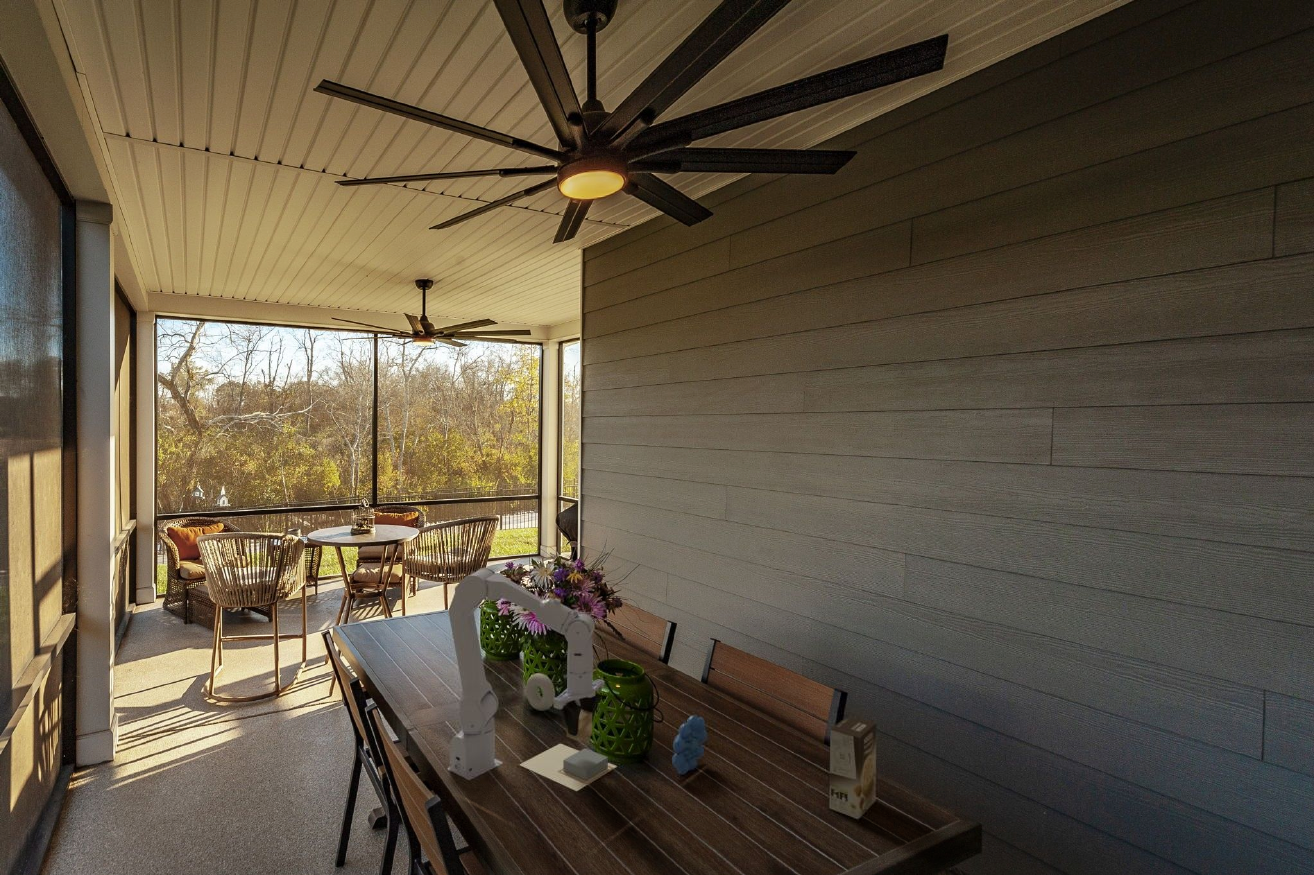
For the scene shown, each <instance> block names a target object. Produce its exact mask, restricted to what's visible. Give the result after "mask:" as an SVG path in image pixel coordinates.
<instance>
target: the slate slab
mask: <svg viewBox="0 0 1314 875" xmlns="http://www.w3.org/2000/svg"><path fill="white" fill-rule="evenodd" d="M578 751H579V752H577V753H575V754H573V755H572V756H570V757H568V758H566V759H564V760H563V771H564V772H566V773H568V774H570V775H573V776H575V777H577V778H580V779H582V780H584V781H588V780H590V779H591V778H593V777H595V776H596V775H598V774H600V773H601V772H603V771H605V770H606V769H608V763H609V757H608V756H605V755H604V754H600V753H598V752H595V751H593V750H592V749H588V748H582V749H581V750H578Z"/></svg>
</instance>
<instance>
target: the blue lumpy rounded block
mask: <svg viewBox="0 0 1314 875" xmlns="http://www.w3.org/2000/svg"><path fill="white" fill-rule="evenodd" d="M705 728H706V721H705V719H704V718H703V717H702V716H699V717H698V716H697V715H696V714H692V715H690V716H689V717H688V718H687V720H686V722H683V723H681V725H680V726H679V728H678V734H677V735H676V736H675V737H674V741H673V743H672V747H673V748H672V749H673V751H674V753H675V754H673V756H672V758H671V761H672V766H673V767H674V768H676V769H677V770H676V771H677V773H678V774H679V775H681V776H682V775H685V774H686V773H688V771H693V770H695V769H696V767H697V765H698V762H697V759H700V758H701V757H702V756H704V752H705V751H704V746H703V743H704V742H706V740H707V739H708V735H707V733H708V732H707V731H706V729H705Z"/></svg>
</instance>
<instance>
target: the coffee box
mask: <svg viewBox="0 0 1314 875" xmlns="http://www.w3.org/2000/svg"><path fill="white" fill-rule="evenodd" d="M829 730H830V736H829V738H830V742H829V745H830V746H829V747H830V748H829V809H830V810H833V811H835V812H838V813H841V814H843V815H846V816H849V817H851V818H853V819H856V820H859V819H860V818H861V817H862V816H863V815H864V814H865V813H866V812H867V811H868V810H869V809H870V808H871V806H872V805H873V804H874V803H875V802H876V797H877V796H876V794H877V793H876V790H877V788H876V784H877V783H876V780H877V779H876V778H877V776H876V774H877V768H876V767H877V723H875V722H872V721H869V720H867V719H862V718H858V717H853V716H849V715H847V716H846V717H845V718H843V719H842V720H840V721H838V723H836V724H835V725H833V726H832V727H830V728H829Z"/></svg>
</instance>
